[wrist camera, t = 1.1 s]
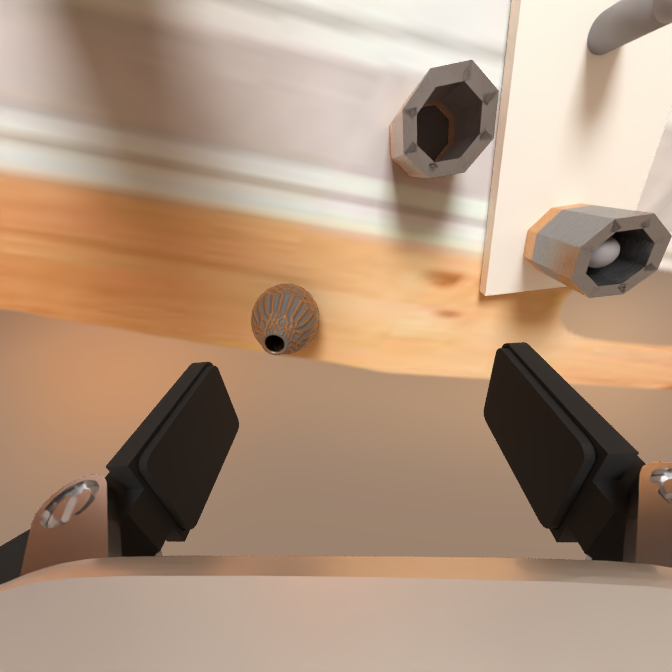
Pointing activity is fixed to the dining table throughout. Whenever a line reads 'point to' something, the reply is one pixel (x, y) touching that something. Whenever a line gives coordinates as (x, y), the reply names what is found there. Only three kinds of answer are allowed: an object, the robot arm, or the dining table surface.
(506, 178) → the pin board
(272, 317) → the vase
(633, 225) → the seated sleeve
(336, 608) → the robot arm
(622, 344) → the dining table surface
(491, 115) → the loose sleeve
